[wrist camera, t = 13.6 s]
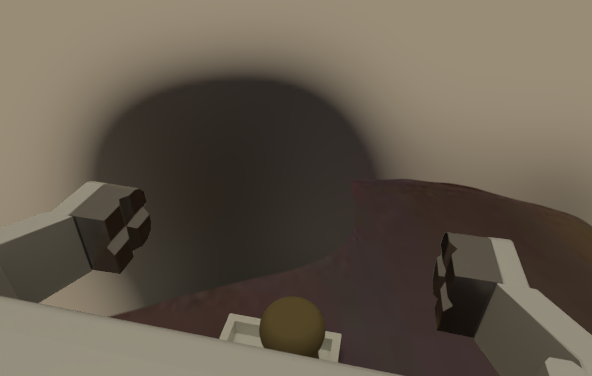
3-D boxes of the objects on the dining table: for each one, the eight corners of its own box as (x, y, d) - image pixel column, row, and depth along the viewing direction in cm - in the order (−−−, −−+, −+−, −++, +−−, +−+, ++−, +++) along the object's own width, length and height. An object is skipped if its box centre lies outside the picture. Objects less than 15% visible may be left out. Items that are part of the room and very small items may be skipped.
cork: (244, 406, 36) (237, 326, 30) (279, 353, 41) (279, 274, 35) (304, 442, 34) (309, 363, 28) (334, 382, 38) (344, 302, 32)
